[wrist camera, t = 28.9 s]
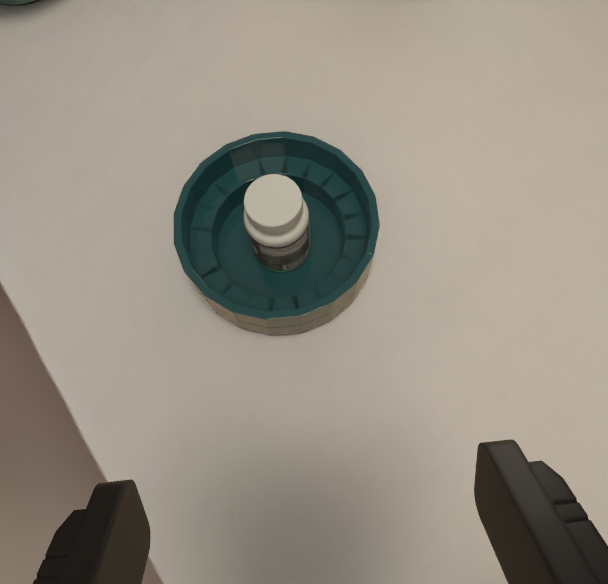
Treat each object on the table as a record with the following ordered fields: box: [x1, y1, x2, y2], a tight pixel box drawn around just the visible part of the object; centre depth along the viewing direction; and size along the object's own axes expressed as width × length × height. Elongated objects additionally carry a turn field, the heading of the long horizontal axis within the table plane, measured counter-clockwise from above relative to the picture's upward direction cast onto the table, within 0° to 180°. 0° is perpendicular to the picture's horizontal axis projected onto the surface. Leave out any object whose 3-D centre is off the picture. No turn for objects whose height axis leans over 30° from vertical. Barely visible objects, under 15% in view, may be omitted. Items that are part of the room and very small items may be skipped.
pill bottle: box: [244, 174, 310, 272], centre depth 38 cm, size 5×5×8 cm
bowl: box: [174, 132, 380, 335], centre depth 40 cm, size 15×15×6 cm
